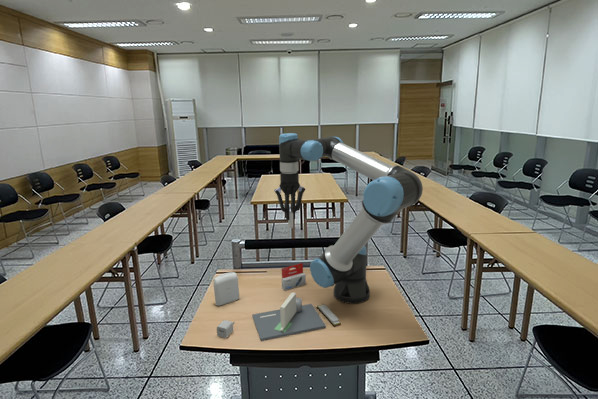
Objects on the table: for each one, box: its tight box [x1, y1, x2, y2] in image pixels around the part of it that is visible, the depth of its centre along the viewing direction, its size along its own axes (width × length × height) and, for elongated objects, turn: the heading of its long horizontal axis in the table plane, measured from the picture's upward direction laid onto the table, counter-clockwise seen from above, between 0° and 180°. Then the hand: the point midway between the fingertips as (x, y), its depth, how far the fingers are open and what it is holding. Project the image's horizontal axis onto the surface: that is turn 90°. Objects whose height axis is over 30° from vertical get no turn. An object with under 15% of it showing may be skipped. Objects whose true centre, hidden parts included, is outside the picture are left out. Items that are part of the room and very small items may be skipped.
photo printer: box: [212, 271, 240, 306], centre depth 154 cm, size 10×4×12 cm, turn 123°
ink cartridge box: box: [281, 262, 307, 291], centre depth 166 cm, size 2×11×10 cm, turn 121°
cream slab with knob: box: [279, 292, 303, 331], centre depth 139 cm, size 17×4×8 cm, turn 159°
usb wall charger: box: [216, 319, 235, 339], centre depth 135 cm, size 4×7×4 cm, turn 160°
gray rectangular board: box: [251, 303, 327, 342], centre depth 140 cm, size 24×16×1 cm, turn 107°
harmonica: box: [315, 304, 342, 328], centre depth 144 cm, size 15×3×2 cm, turn 23°
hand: (290, 226), depth 159 cm, fingers closed
